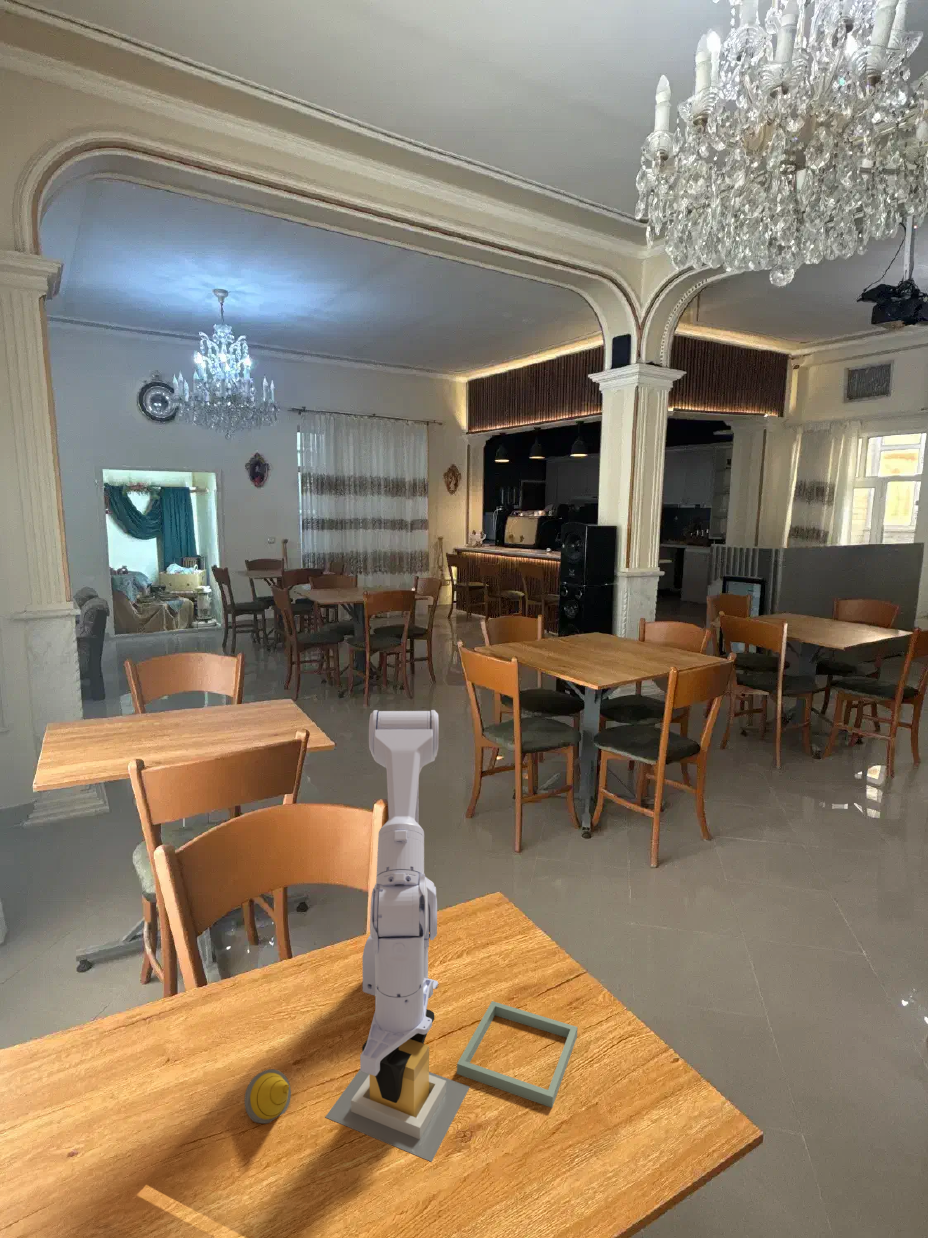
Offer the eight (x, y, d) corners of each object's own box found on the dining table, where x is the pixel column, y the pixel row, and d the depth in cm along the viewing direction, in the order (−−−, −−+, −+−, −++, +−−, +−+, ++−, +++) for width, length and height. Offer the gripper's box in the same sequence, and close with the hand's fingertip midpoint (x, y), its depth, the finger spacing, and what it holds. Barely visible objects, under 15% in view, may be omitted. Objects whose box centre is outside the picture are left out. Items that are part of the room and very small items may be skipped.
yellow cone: (287, 1089, 85) (318, 1073, 79) (264, 1137, 81) (296, 1124, 75) (252, 1066, 85) (281, 1049, 79) (227, 1114, 81) (256, 1099, 75)
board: (325, 1123, 80) (324, 1106, 80) (372, 1057, 90) (372, 1041, 90) (431, 1168, 75) (431, 1149, 74) (469, 1092, 85) (470, 1076, 84)
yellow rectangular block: (369, 1105, 82) (369, 1053, 81) (386, 1081, 85) (386, 1030, 84) (413, 1123, 79) (414, 1069, 78) (428, 1097, 83) (429, 1045, 82)
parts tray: (456, 1079, 87) (457, 1064, 86) (491, 1015, 98) (491, 1001, 98) (552, 1113, 82) (552, 1097, 81) (577, 1041, 93) (577, 1027, 93)
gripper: (400, 1033, 72) (400, 1145, 74) (455, 954, 85) (453, 1052, 87) (343, 1013, 75) (345, 1122, 76) (405, 940, 88) (405, 1035, 90)
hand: (399, 1084), depth 82 cm, fingers closed on yellow rectangular block, 4 cm apart
